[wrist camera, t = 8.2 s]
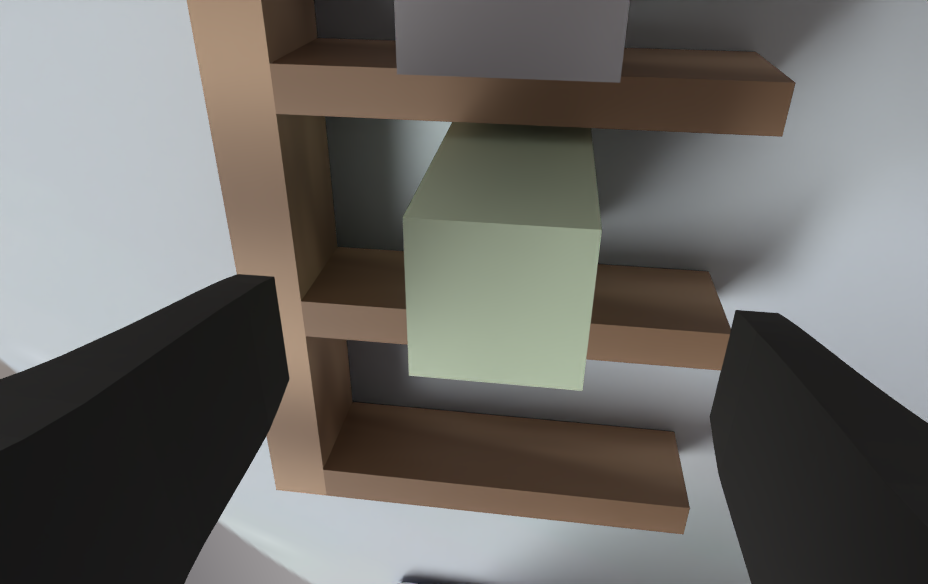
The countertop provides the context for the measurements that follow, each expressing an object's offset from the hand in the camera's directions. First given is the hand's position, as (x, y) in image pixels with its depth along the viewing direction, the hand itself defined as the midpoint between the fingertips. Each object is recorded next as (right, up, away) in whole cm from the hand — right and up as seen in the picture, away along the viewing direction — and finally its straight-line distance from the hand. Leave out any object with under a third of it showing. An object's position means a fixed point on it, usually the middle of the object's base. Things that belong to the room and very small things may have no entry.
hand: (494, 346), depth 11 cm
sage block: (+1, +4, +6) cm, 7 cm away
